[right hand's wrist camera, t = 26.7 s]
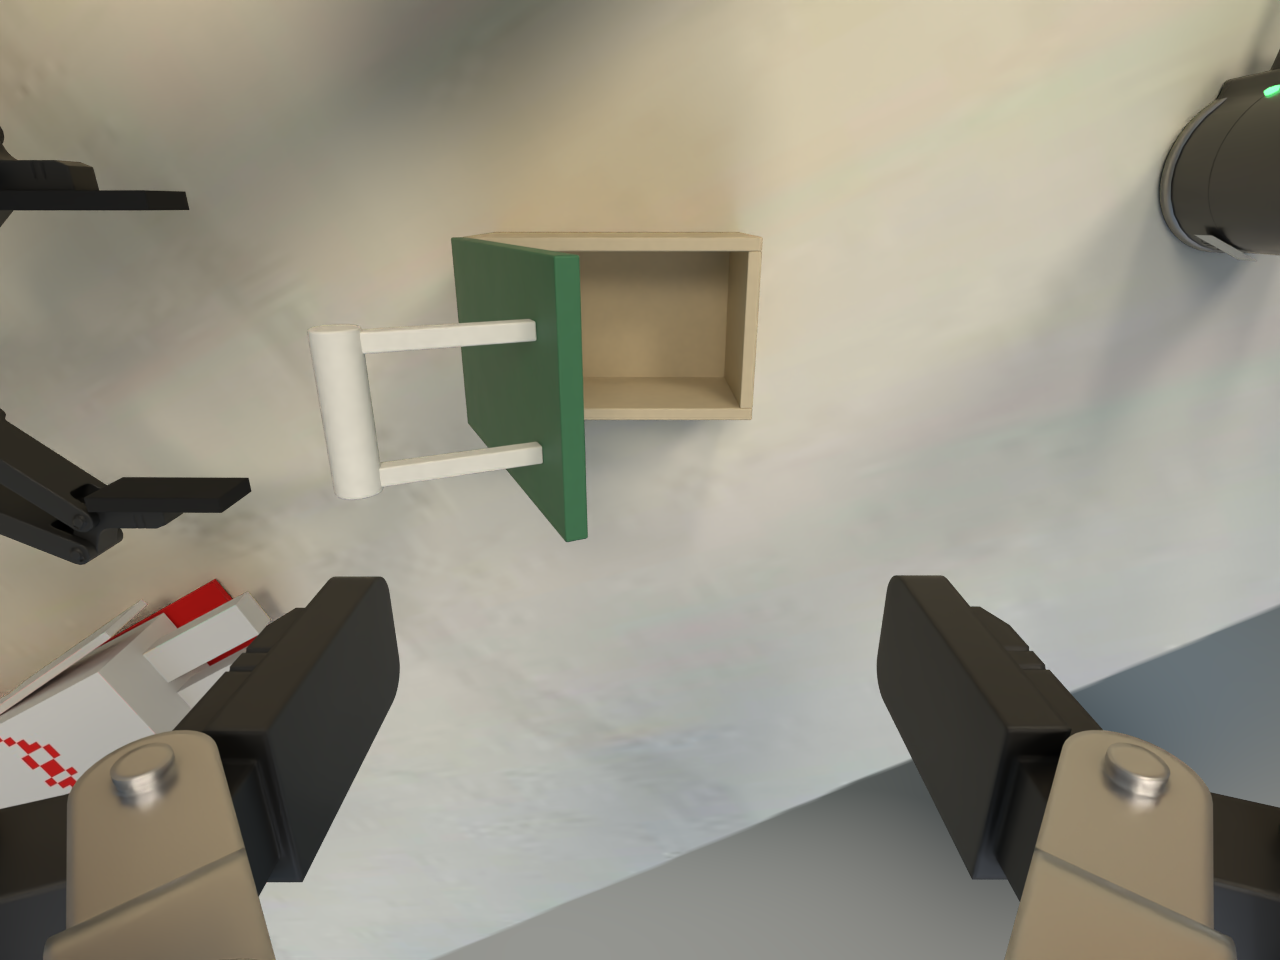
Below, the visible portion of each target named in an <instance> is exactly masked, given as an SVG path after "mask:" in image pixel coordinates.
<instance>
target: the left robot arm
mask: <svg viewBox="0 0 1280 960" xmlns="http://www.w3.org/2000/svg"><path fill="white" fill-rule="evenodd" d="M3 141H4V134H3V130H2V129H1V127H0V227H1V226H2V224H3V223H4V222H5V220H6V219H7V218H8V217H9V215H10V214H11V213H12V212H13V210H189V206H188V202H187V197H186V193H185V192H179V191H144V190H134V191H99V188H98V184H97V181H96V177H95V173H94V169H93V167H91V166H88V165H86V164H83V163H81V162H70V161H57V160H16V159H15V158H13V157H12V156H11V155H10V154H9V153H8V152H7V151H6V149H5V148H4V146H3V145H2V143H3ZM5 416H6V414H5V412H4V411H3V410H2V409H0V534H1V535H4V536H6V537H9V538H11V539H14V540H16V541H19V542H21V543H24V544H27V545H29V546H32V547H34V548H37V549H39V550H42V551H44V552H47V553H49V554H52V555H55V556H57V557H60V558H62V559H65V560H67V561H70V562H72V563H75V564H79V565H82V564H85V563H87V562H89V561H90V560H92V559H94V558H95V557H97V556H98V555H100V554H102V553H103V552H105V551H106V550H108V549H109V548H111V547H112V546H114V545H115V544H117V543H119V542H120V541H122V539H123V532H122V530H121V529H120V528H159V527H161V526H164V525H166V524H168V523H169V522H171V521H172V520H174V519H175V518H177V517H178V516H180V515H181V514H183V513H222V512H223V511H225V510H226V509H228V508H229V507H230V506H232V505H233V504H235V503H236V502H237V501H239V500H240V499H241V498H243V497H244V496H246V495H247V494H248V493H250V492H251V487H250V483H249V478H157V477H123V478H121V479H119V480H117V481H115V482H113V483H111V484H109V485H105V484H104V483H102V482H101V481H99V480H98V479H96V478H95V477H93V476H91V475H90V474H88V473H87V472H85V471H84V470H82V469H81V468H79V467H77V466H76V465H74V464H73V463H71V462H70V461H68V460H67V459H65V458H63V457H62V456H60V455H59V454H57V453H56V452H54V451H53V450H51V449H49V448H48V447H46V446H45V445H43V444H42V443H40V442H39V441H37V440H35V439H34V438H32V437H31V436H29V435H28V434H26V433H25V432H23V431H21V430H20V429H18V428H17V427H15V426H14V425H12V424H11V423H9V422H8V421H6V419H5Z"/></svg>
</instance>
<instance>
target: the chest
mask: <svg viewBox="0 0 1280 960" xmlns="http://www.w3.org/2000/svg"><path fill="white" fill-rule="evenodd" d="M467 238H474V239H480V240H486V241H493V242H499V243H506V244H512V245H518V246H525V247H531V248H537V249H544V250H550V251H556V252H563V253H569V254H575V255H579V260H580V294H581V328H582V362H583V396H584V420H751V419H752V407H753V390H754V373H755V357H756V340H757V324H758V307H759V291H760V274H761V257H762V252H761V250H762V237H758V236H753V235H749V234H744V233H740V232H493V233H487V234H480V235H473V236H467Z"/></svg>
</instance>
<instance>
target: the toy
mask: <svg viewBox="0 0 1280 960" xmlns="http://www.w3.org/2000/svg"><path fill="white" fill-rule="evenodd" d="M147 605H148V604H147V603H146V602H145V601H144V600H143V599H141V600H140V601H139V602H137V603H136V604H134V605H133V606H131V607H130V608H129V609H127V610H126V611H124V612H123V613H121V614H120V615H118V616H117V617H116V618H114V619H113V620H111V621H110V622H108V623H107V624H106V625H104V626H103V627H101V628H100V629H98V630H97V631H96V632H94V633H93V634H91V635H90V636H88V637H87V638H85V639H84V640H83V641H81V642H80V643H78V644H77V645H75V646H74V647H73V648H71V649H70V650H68V651H67V652H65V653H64V654H62V655H61V656H60V657H58V658H57V659H55V660H54V661H52V662H51V663H50V664H48V665H47V666H45V667H44V668H42V669H41V670H39V671H38V672H37V673H35V674H34V675H32V676H31V677H29V678H28V679H27V680H26V681H24V682H23V683H22V684H21V685H20V686H18V687H17V688H16V689H15V690H14V691H12V692H11V693H9V694H8V695H6V696H4V697H2V698H0V809H2V808H7V807H11V806H16V805H20V804H25V803H29V802H34V801H38V800H43V799H47V798H52V797H56V796H61V795H65V794H69V793H70V791H71V789H72V787H73V786H74V784H75V783H76V782H77V780H78V779H79V778H80V777H81V776H82V775H83V774H84V772H85V771H87V770H88V769H89V768H90V767H91V766H92V765H94V764H95V763H96V762H98V761H99V760H100V759H102V758H103V757H105V756H106V755H108V754H110V753H111V752H113V751H115V750H116V749H118V748H120V747H122V746H124V745H126V744H129V743H131V742H133V741H136V740H138V739H141V738H144V737H147V736H150V735H154V734H158V733H162V732H168V731H172V730H173V729H174V728H175V727H176V726H177V725H178V724H179V723H180V721H181V720H182V719H183V718H184V717H185V716H186V715H187V714H188V713H189V711H190V710H191V709H192V708H193V707H194V706H195V705H196V704H197V703H198V701H199V700H200V699H201V698H202V697H203V696H204V695H205V694H206V692H207V691H208V690H209V689H210V688H211V687H212V686H213V685H214V684H215V682H216V681H217V680H218V679H219V678H220V677H221V676H222V675H223V674H224V672H229V670H230V666H231V665H232V664H233V662H234V661H235V660H236V659H237V658H238V657H239V656H240V655H241V654H242V653H246V648H247V647H248V646H249V645H250V644H251V642H252V641H253V640H254V639H255V638H256V637H257V636H258V635H259V634H260V632H261V631H262V630H263V629H264V628H265V627H266V625H267V624H268V623H269V621H270V620H271V619H270V618H269V617H268V615H267V614H266V613H265V612H264V610H263V609H262V608H261V607H260V605H259V604H258V603H257V602H256V600H255V599H254V598H253V597H252V595H251V594H250V593H249V592H248V591H247V592H245V593H243V594H242V595H240V596H238V597H236V598H234V599H232V598H231V597H230V596H229V594H228V593H227V592H226V591H225V590H224V589H223V587H222V586H221V585H220V584H219V583H218V582H217V580H216V579H214V580H212V581H211V582H209V583H207V584H205V585H204V586H202V587H200V588H198V589H197V590H195V591H193V592H191V593H190V594H188V595H186V596H184V597H182V598H181V599H179V600H177V601H175V602H174V603H172V604H170V605H168V606H167V607H165V608H163V609H161V610H159V611H158V612H156V613H154V614H152V615H151V616H149V617H147V618H145V619H144V620H142V621H140V622H138V623H137V624H135V625H133V626H131V627H129V628H128V629H126V630H124V631H122V632H121V633H119V634H117V635H115V634H116V633H117V632H118V631H119V630H120V629H121V628H122V627H124V626H125V625H126V624H127V623H128V622H129V621H130V620H131V619H132V618H133V617H135V616H136V615H137V614H138V613H139V612H140V611H141V610H142V609H143V608H144V607H146V606H147ZM114 635H115V636H114ZM112 636H114V637H112ZM111 637H112V638H111Z"/></svg>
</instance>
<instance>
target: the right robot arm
mask: <svg viewBox="0 0 1280 960" xmlns="http://www.w3.org/2000/svg"><path fill="white" fill-rule="evenodd" d="M1160 203H1161V209H1162V213H1163V216H1164V219H1165V221H1166V223H1167V225H1168V227H1169V228H1170V230H1171V231H1172V232H1173V234H1174V235H1175V236H1176V237H1177V238H1178V239H1179V240H1181V241H1182V242H1183V243H1185V244H1186V245H1188V246H1190V247H1192V248H1195V249H1198V250H1202V251H1207V252H1218V253H1227V254H1229V255H1231V256H1232V257H1234V258H1236V259H1238V260H1248V261H1256V260H1255V259H1253V258H1251V257H1249V256H1248V255H1246V254H1244V253H1256V254H1268V255H1280V50H1279V52H1278V54H1277V57H1276V59H1275V61H1274V64H1273V66H1272V68H1271V70H1270V71H1266V72H1262V73H1257V74H1253V75H1248V76H1244V77H1239V78H1235V79H1230V80H1228V81H1226V82H1225V84H1224V86H1223V88H1222V90H1221V93H1220V95H1219V96H1218V98H1217V100H1216V101H1214V102H1212V103H1211V104H1210V105H1208V106H1207V107H1206V108H1204V109H1203V110H1202V111H1201V112H1200V113H1198V114H1197V115H1196V116H1195V117H1194V118H1193V119H1192V120H1191V121H1190V123H1189V124H1188V125H1187V126H1186V127H1185V129H1184V130H1183V131H1182V132H1181V134H1180V135H1179V137H1178V138H1177V140H1176V141H1175V143H1174V145H1173V147H1172V149H1171V151H1170V153H1169V155H1168V157H1167V160H1166V163H1165V165H1164V169H1163V173H1162V178H1161V184H1160ZM399 673H400V663H399V654H398V647H397V641H396V634H395V627H394V620H393V614H392V607H391V600H390V593H389V588H388V585H387V583H386V581H385V579H384V578H383V577H332V578H330V579H329V580H328V582H327V583H326V584H325V585H324V586H323V587H322V589H321V590H320V591H319V592H318V593H317V595H316V596H315V597H314V598H313V599H312V601H311V602H310V603H309V604H308V605H307V606H306V608H295V609H293V610H292V611H290V612H289V613H287V614H285V615H284V616H282V617H280V618H279V619H277V620H276V621H274V622H272V623H271V624H269V625H267V626H266V627H265V628H264V629H263V630H262V631H261V632H260V634H259V635H258V636H257V637H256V638H255V639H254V640H253V641H252V642H251V644H250V645H249V646H248V647H247V648H246V653H242V654H241V655H240V656H239V657H238V658H237V659H236V660H235V661H234V662H233V664H232V665H231V666H230V670H229V672H224V674H223V675H222V676H221V677H220V678H219V679H218V680H217V681H216V682H215V684H214V685H213V686H212V687H211V688H210V689H209V690H208V691H207V692H206V694H205V695H204V696H203V697H202V698H201V699H200V700H199V701H198V703H197V704H196V705H195V706H194V707H193V708H192V709H191V710H190V711H189V713H188V714H187V715H186V716H185V717H184V718H183V719H182V720H181V721H180V723H179V724H178V725H177V726H176V727H175V728H174V729H173V730H172V731H168V732H162V733H158V734H154V735H150V736H147V737H144V738H141V739H138V740H136V741H133V742H131V743H129V744H126V745H124V746H122V747H120V748H118V749H116V750H115V751H113V752H111V753H110V754H108V755H106V756H105V757H103V758H102V759H100V760H99V761H98V762H96V763H95V764H94V765H92V766H91V767H90V768H89V769H88V770H87V771H85V772H84V774H83V775H82V776H81V777H80V778H79V779H78V780H77V782H76V783H75V784H74V786H73V787H72V789H71V791H70V793H69V794H65V795H61V796H56V797H52V798H47V799H43V800H38V801H34V802H29V803H25V804H20V805H16V806H11V807H7V808H2V809H0V960H276V959H275V955H274V951H273V948H272V944H271V940H270V937H269V933H268V929H267V926H266V922H265V918H264V915H263V911H262V907H261V904H260V900H259V895H260V893H261V891H262V890H263V888H264V886H265V884H266V882H303V880H304V878H305V876H306V874H307V872H308V870H309V868H310V866H311V864H312V862H313V860H314V858H315V856H316V854H317V852H318V850H319V848H320V846H321V844H322V842H323V840H324V838H325V836H326V834H327V832H328V830H329V828H330V826H331V824H332V822H333V820H334V818H335V816H336V814H337V812H338V810H339V808H340V806H341V804H342V802H343V800H344V798H345V796H346V794H347V792H348V790H349V788H350V786H351V784H352V782H353V780H354V778H355V776H356V774H357V772H358V770H359V768H360V766H361V764H362V762H363V760H364V758H365V756H366V755H367V753H368V751H369V749H370V747H371V745H372V743H373V741H374V739H375V737H376V735H377V733H378V731H379V729H380V727H381V725H382V723H383V721H384V719H385V717H386V715H387V713H388V711H389V709H390V707H391V705H392V703H393V701H394V698H395V695H396V692H397V688H398V682H399ZM877 678H878V685H879V689H880V693H881V696H882V698H883V701H884V703H885V705H886V707H887V709H888V711H889V713H890V715H891V717H892V719H893V721H894V723H895V725H896V727H897V729H898V731H899V733H900V735H901V737H902V739H903V741H904V743H905V745H906V747H907V749H908V751H909V753H910V755H911V757H912V759H913V761H914V763H915V765H916V767H917V769H918V771H919V773H920V775H921V777H922V779H923V781H924V783H925V785H926V787H927V789H928V791H929V793H930V795H931V797H932V799H933V801H934V803H935V806H936V808H937V810H938V812H939V814H940V815H941V818H942V820H943V822H944V824H945V826H946V828H947V830H948V832H949V834H950V836H951V838H952V840H953V842H954V844H955V846H956V848H957V850H958V852H959V854H960V856H961V858H962V860H963V862H964V864H965V866H966V868H967V870H968V872H969V874H970V876H971V878H972V879H1008V881H1009V883H1010V885H1011V887H1012V888H1013V890H1014V892H1015V894H1016V896H1017V897H1018V899H1019V901H1020V904H1019V907H1018V911H1017V915H1016V918H1015V922H1014V926H1013V929H1012V933H1011V937H1010V940H1009V944H1008V948H1007V951H1006V955H1005V959H1004V960H1280V808H1278V807H1274V806H1270V805H1265V804H1260V803H1256V802H1251V801H1247V800H1242V799H1238V798H1233V797H1229V796H1224V795H1220V794H1215V793H1211V792H1210V791H1209V789H1208V787H1207V786H1206V784H1205V783H1204V782H1203V780H1202V779H1201V778H1200V777H1199V776H1198V775H1197V774H1196V772H1195V771H1193V770H1192V769H1191V768H1190V767H1189V766H1188V765H1186V764H1185V763H1184V762H1182V761H1181V760H1180V759H1178V758H1177V757H1175V756H1174V755H1172V754H1170V753H1169V752H1167V751H1165V750H1164V749H1162V748H1160V747H1158V746H1155V745H1153V744H1151V743H1149V742H1147V741H1144V740H1142V739H1139V738H1136V737H1133V736H1129V735H1126V734H1122V733H1118V732H1112V731H1104V730H1103V729H1102V728H1101V727H1100V726H1099V725H1098V724H1097V723H1096V722H1095V720H1094V719H1093V718H1092V717H1091V716H1090V715H1089V714H1088V713H1087V711H1086V710H1085V709H1084V708H1083V707H1082V706H1081V705H1080V704H1079V702H1078V701H1077V700H1076V699H1075V698H1074V697H1073V696H1072V695H1071V694H1070V692H1069V691H1068V690H1067V689H1066V688H1065V687H1064V686H1063V685H1062V683H1061V682H1060V681H1059V680H1058V679H1057V678H1056V677H1055V676H1054V674H1053V673H1052V672H1051V671H1050V670H1046V669H1045V664H1044V663H1043V662H1042V661H1041V660H1040V659H1039V658H1038V656H1037V655H1036V654H1035V653H1034V652H1033V651H1029V646H1028V645H1027V644H1026V643H1025V642H1024V641H1023V640H1022V638H1021V637H1020V636H1019V635H1018V634H1017V633H1016V632H1015V631H1014V630H1013V628H1012V627H1011V626H1010V625H1009V624H1007V623H1005V622H1004V621H1002V620H1001V619H999V618H997V617H996V616H994V615H992V614H991V613H989V612H988V611H986V610H984V609H983V608H981V607H970V606H969V605H968V603H967V602H966V601H965V600H964V599H963V597H962V596H961V595H960V594H959V593H958V591H957V590H956V589H955V588H954V587H953V585H952V584H951V583H950V582H949V581H948V579H947V578H946V577H944V576H893V577H892V578H891V580H890V582H889V584H888V588H887V594H886V601H885V607H884V614H883V621H882V628H881V635H880V642H879V649H878V655H877Z"/></svg>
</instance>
